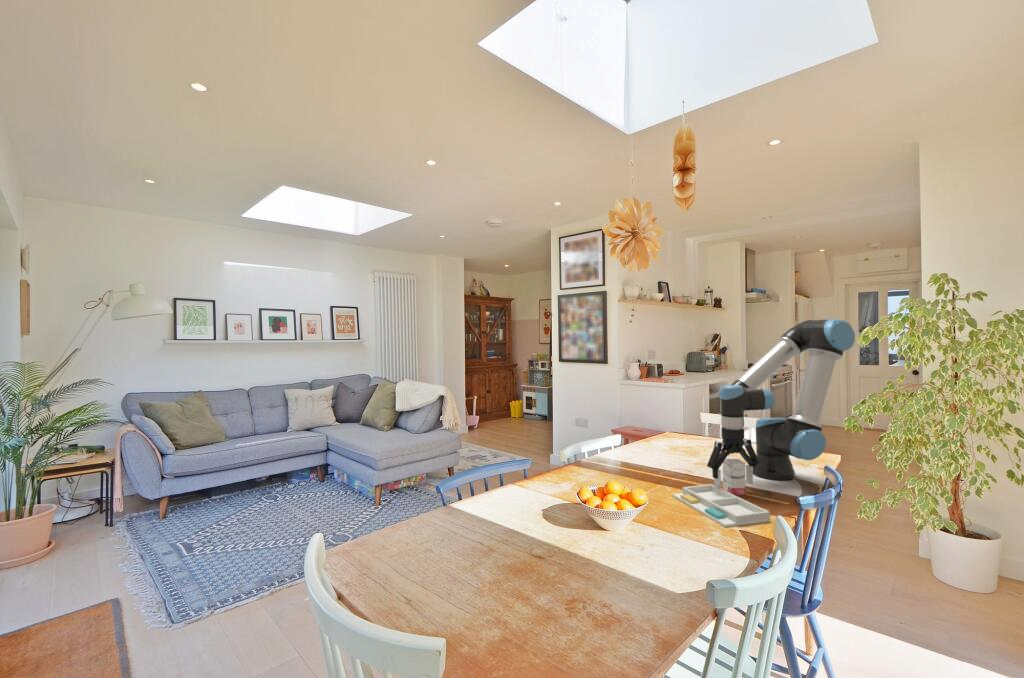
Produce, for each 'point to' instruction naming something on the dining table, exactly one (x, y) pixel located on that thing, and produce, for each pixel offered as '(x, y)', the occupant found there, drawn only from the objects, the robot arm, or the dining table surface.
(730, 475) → the ink box
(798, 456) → the robot arm
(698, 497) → the dock board
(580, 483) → the dining table surface
